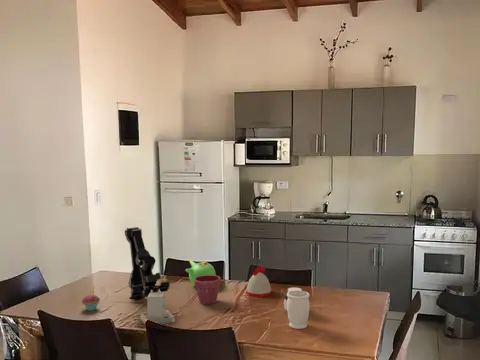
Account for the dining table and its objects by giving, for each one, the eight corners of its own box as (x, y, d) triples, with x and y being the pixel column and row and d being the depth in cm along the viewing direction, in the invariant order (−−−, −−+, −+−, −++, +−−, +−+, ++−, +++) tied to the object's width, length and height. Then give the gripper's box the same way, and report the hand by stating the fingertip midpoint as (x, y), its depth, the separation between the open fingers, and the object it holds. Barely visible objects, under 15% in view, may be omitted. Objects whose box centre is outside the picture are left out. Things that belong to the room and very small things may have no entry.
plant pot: (199, 296, 257) (198, 273, 257) (223, 298, 254) (223, 275, 254) (191, 305, 243) (190, 281, 243) (217, 306, 241) (216, 282, 240)
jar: (284, 321, 218) (284, 290, 217) (306, 321, 219) (306, 289, 218) (289, 330, 208) (289, 297, 207) (311, 329, 209) (311, 296, 208)
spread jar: (290, 316, 225) (290, 293, 225) (278, 309, 235) (278, 287, 235) (310, 312, 231) (310, 289, 230) (297, 305, 241) (297, 283, 240)
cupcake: (103, 307, 241) (102, 284, 240) (92, 312, 233) (92, 289, 232) (89, 305, 244) (88, 283, 243) (78, 311, 236) (78, 287, 235)
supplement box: (163, 323, 219) (162, 296, 218) (147, 323, 218) (146, 296, 218) (165, 317, 226) (164, 291, 225) (150, 317, 226) (149, 292, 225)
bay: (140, 319, 224) (140, 314, 224) (167, 314, 230) (167, 310, 230) (146, 326, 214) (146, 322, 214) (174, 321, 220) (174, 317, 220)
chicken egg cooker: (276, 293, 261) (276, 267, 260) (256, 298, 254) (256, 271, 253) (261, 288, 273) (261, 262, 272) (241, 292, 265) (241, 266, 264)
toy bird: (214, 290, 269) (214, 265, 268) (185, 290, 269) (185, 265, 269) (216, 281, 287) (216, 257, 286) (189, 281, 287) (188, 258, 286)
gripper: (131, 270, 226) (137, 298, 217) (168, 265, 235) (175, 293, 226) (128, 281, 234) (133, 309, 225) (164, 276, 242) (170, 303, 233)
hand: (153, 303), depth 227 cm, fingers closed
